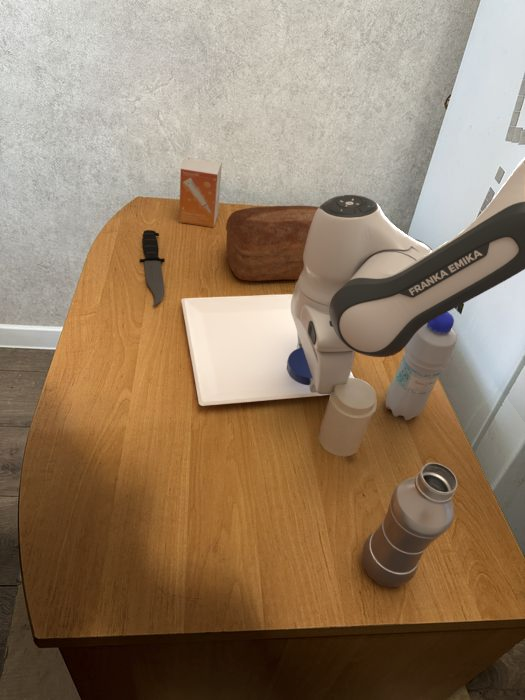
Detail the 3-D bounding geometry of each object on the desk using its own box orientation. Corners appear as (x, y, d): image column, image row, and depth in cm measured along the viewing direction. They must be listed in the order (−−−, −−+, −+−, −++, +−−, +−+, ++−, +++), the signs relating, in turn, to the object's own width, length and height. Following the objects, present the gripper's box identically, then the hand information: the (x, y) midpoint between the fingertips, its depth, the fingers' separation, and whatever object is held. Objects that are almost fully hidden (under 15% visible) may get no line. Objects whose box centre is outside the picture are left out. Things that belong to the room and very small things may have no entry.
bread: (218, 250, 114) (222, 198, 105) (339, 245, 121) (351, 196, 113) (232, 289, 104) (237, 235, 96) (362, 281, 112) (377, 230, 103)
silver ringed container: (368, 532, 69) (417, 440, 56) (417, 561, 67) (479, 471, 54) (349, 573, 65) (396, 483, 52) (400, 604, 63) (463, 519, 49)
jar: (358, 423, 83) (376, 377, 76) (363, 458, 78) (382, 413, 71) (317, 419, 82) (330, 373, 75) (319, 454, 78) (334, 408, 71)
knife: (171, 302, 97) (143, 303, 95) (171, 309, 98) (144, 310, 96) (160, 229, 114) (136, 229, 113) (160, 236, 115) (136, 236, 114)
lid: (277, 365, 86) (278, 358, 85) (309, 348, 89) (310, 341, 88) (307, 392, 82) (309, 385, 81) (338, 373, 86) (341, 366, 85)
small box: (179, 223, 120) (179, 168, 111) (184, 209, 125) (185, 156, 116) (214, 228, 120) (217, 174, 111) (218, 214, 125) (222, 161, 116)
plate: (358, 399, 87) (361, 390, 85) (198, 413, 80) (199, 404, 79) (313, 300, 105) (315, 292, 103) (180, 306, 99) (181, 297, 97)
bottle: (387, 424, 83) (429, 329, 70) (376, 392, 88) (414, 298, 75) (427, 424, 84) (476, 331, 71) (414, 393, 89) (458, 299, 76)
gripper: (288, 262, 83) (276, 328, 93) (321, 351, 69) (303, 419, 78) (327, 262, 84) (311, 327, 94) (366, 350, 70) (343, 417, 79)
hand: (308, 370), depth 86 cm, fingers closed on lid, 7 cm apart
